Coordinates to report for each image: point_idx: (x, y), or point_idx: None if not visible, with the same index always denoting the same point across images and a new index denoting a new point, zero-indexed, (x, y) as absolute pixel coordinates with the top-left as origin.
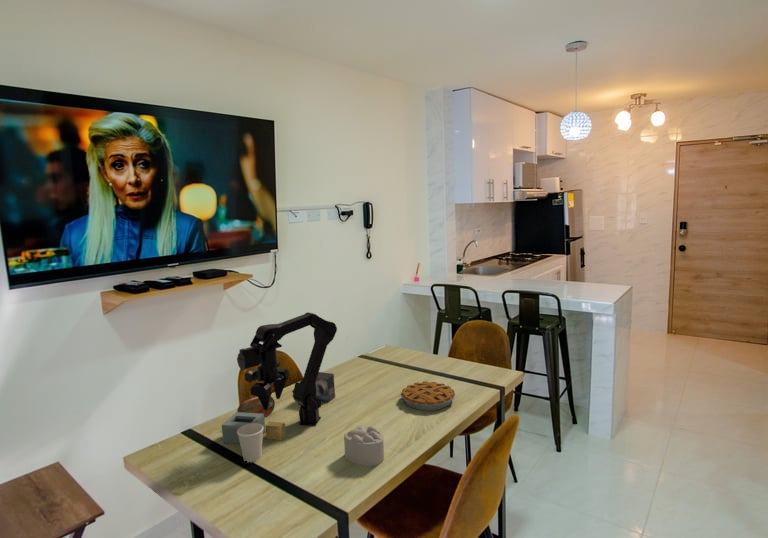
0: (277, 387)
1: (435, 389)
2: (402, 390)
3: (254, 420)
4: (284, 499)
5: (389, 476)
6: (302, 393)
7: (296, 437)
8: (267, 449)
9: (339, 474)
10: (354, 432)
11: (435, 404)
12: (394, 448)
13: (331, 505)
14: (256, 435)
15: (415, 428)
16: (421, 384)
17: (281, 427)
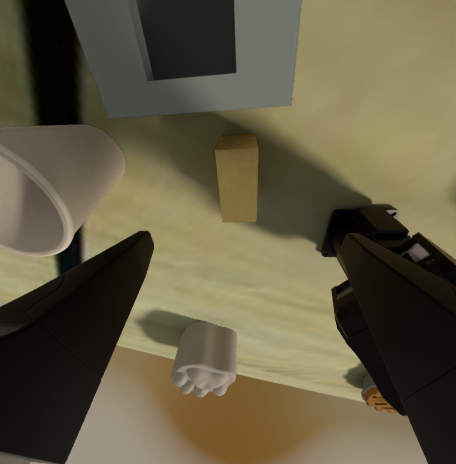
0: (419, 339)
1: None
2: None
3: (184, 91)
4: (42, 283)
5: (170, 357)
6: (366, 355)
7: (247, 230)
8: (158, 179)
9: (145, 323)
10: (192, 381)
11: (362, 397)
12: (237, 358)
13: None
14: (12, 240)
15: (300, 369)
16: None
17: (224, 219)
